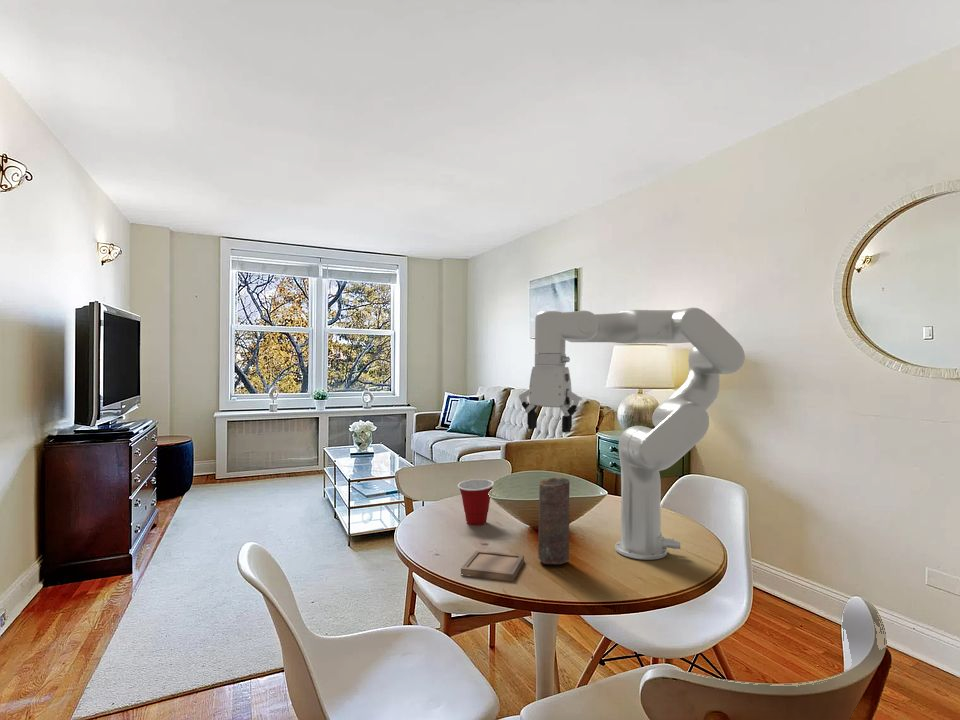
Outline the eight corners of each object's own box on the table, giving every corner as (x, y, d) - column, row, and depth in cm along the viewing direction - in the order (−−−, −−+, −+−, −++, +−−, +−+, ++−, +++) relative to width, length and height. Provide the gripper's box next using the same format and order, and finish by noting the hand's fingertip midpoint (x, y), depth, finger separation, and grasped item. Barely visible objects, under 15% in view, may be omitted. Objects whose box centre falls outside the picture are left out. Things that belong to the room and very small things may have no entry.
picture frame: (523, 561, 128) (523, 555, 128) (512, 581, 117) (512, 574, 117) (476, 556, 132) (476, 550, 132) (460, 575, 120) (460, 568, 120)
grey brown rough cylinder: (572, 569, 124) (572, 482, 124) (541, 569, 123) (541, 483, 123) (565, 556, 131) (565, 475, 131) (535, 557, 131) (535, 476, 131)
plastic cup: (450, 522, 159) (450, 482, 159) (477, 515, 166) (477, 477, 167) (474, 531, 151) (474, 488, 151) (501, 523, 158) (501, 483, 158)
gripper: (588, 361, 130) (587, 432, 130) (528, 361, 141) (527, 426, 140) (574, 361, 124) (573, 435, 124) (512, 360, 135) (511, 428, 134)
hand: (549, 430), depth 132 cm, fingers open, 9 cm apart
